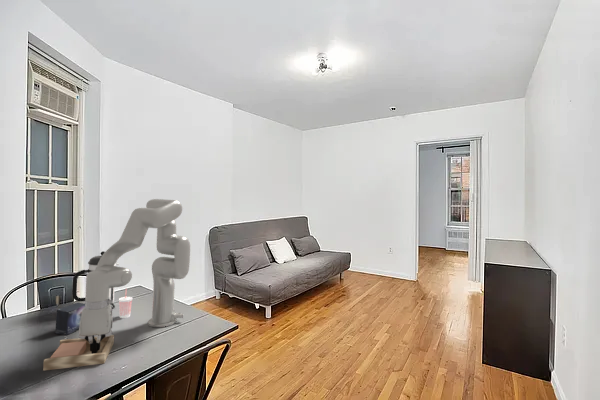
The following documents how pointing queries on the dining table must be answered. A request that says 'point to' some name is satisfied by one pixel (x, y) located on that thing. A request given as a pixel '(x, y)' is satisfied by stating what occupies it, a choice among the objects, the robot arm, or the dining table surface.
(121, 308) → the beverage cup
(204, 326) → the dining table surface
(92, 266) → the coffee press
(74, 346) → the cover plate
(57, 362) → the wooden tray
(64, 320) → the small box
